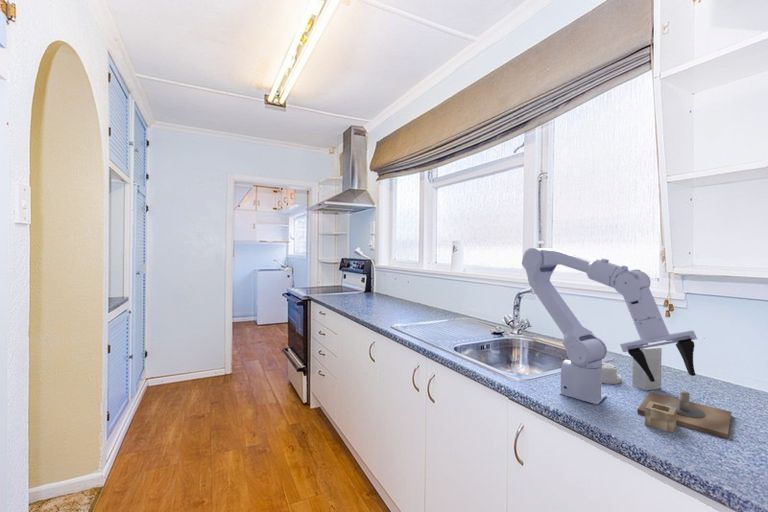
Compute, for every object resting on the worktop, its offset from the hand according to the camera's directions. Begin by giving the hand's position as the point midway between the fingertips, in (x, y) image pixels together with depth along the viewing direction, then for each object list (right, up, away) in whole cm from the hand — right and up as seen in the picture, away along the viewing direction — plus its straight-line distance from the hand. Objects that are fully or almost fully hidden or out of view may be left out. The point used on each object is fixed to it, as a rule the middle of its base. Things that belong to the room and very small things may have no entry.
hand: (672, 378), depth 81 cm
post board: (+8, -11, +6) cm, 15 cm away
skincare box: (+11, -11, +23) cm, 28 cm away
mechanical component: (+3, -11, +30) cm, 32 cm away
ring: (-2, -11, +1) cm, 11 cm away
